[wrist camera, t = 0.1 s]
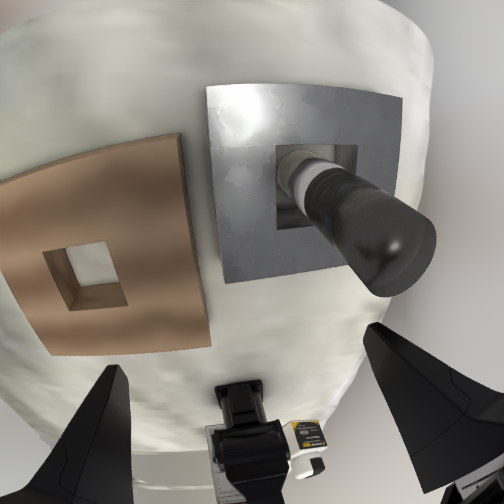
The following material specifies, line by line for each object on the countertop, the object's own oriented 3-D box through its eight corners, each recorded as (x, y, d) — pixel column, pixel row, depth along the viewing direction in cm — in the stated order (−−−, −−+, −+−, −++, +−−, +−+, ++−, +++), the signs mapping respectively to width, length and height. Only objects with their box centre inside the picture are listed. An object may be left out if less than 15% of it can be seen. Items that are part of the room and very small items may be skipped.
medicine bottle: (318, 419, 48) (336, 467, 37) (298, 433, 50) (313, 478, 40) (290, 420, 45) (307, 473, 35) (271, 434, 47) (285, 483, 37)
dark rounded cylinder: (322, 195, 22) (422, 287, 11) (276, 198, 22) (356, 305, 11) (324, 149, 20) (444, 212, 9) (276, 150, 20) (374, 218, 9)
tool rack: (208, 320, 27) (211, 346, 24) (59, 333, 25) (51, 355, 22) (179, 133, 18) (176, 138, 15) (-4, 183, 15) (-26, 197, 12)
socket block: (363, 240, 26) (382, 258, 23) (220, 259, 24) (224, 284, 21) (376, 95, 18) (402, 98, 16) (204, 89, 17) (206, 86, 14)
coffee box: (242, 437, 46) (258, 506, 32) (211, 441, 45) (223, 510, 31) (239, 421, 41) (258, 502, 27) (203, 425, 40) (216, 507, 27)
